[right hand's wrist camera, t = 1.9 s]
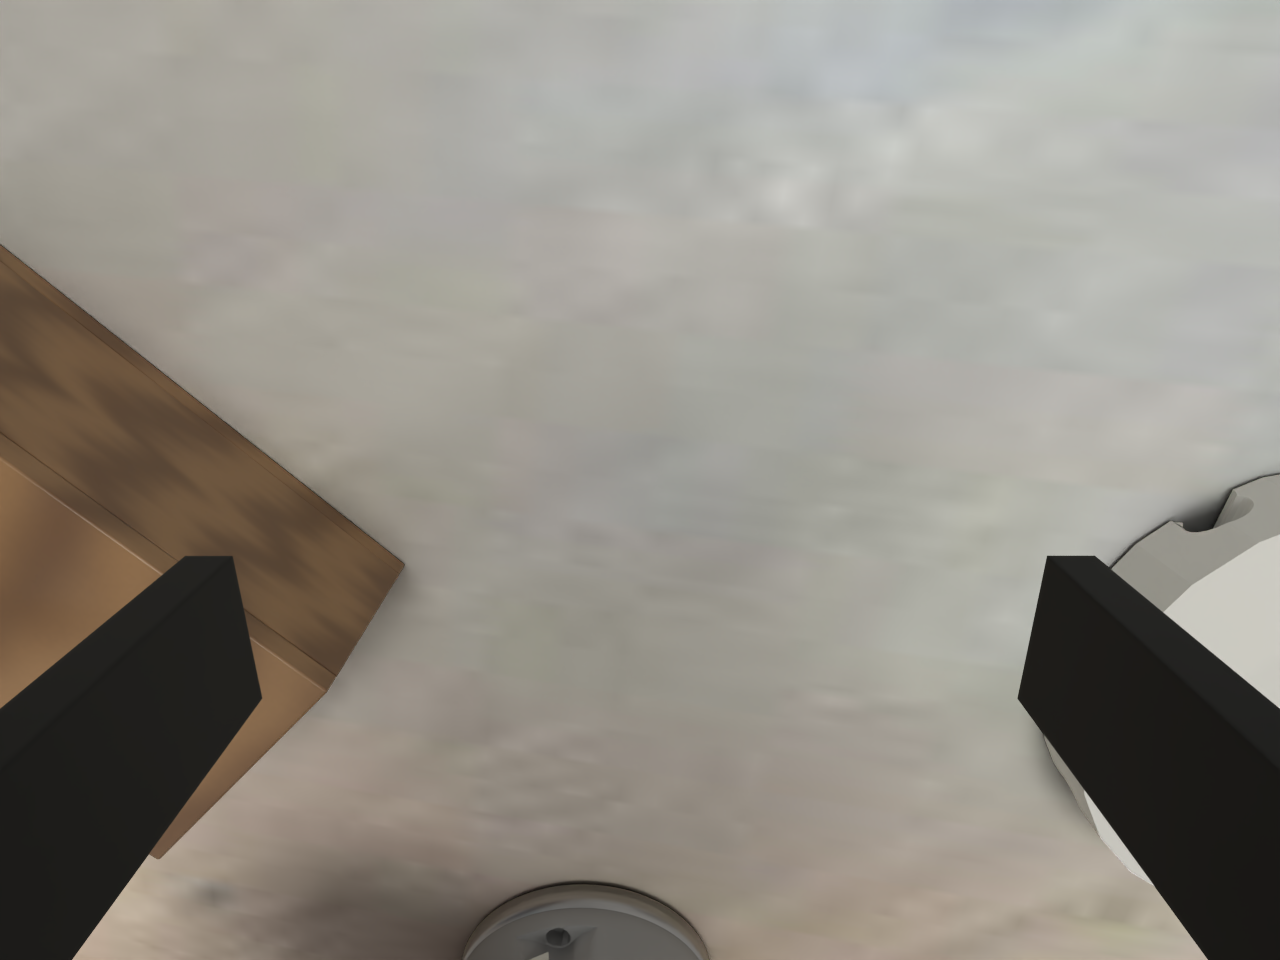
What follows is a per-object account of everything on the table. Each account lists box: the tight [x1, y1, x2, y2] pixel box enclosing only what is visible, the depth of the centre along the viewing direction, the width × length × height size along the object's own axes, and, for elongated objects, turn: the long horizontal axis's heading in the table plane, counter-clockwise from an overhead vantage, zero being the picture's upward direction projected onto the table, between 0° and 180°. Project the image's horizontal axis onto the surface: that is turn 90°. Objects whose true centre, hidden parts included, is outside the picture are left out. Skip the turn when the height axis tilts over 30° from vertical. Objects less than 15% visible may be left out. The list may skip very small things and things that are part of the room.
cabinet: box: [0, 245, 404, 859], centre depth 32 cm, size 22×12×10 cm, turn 46°
